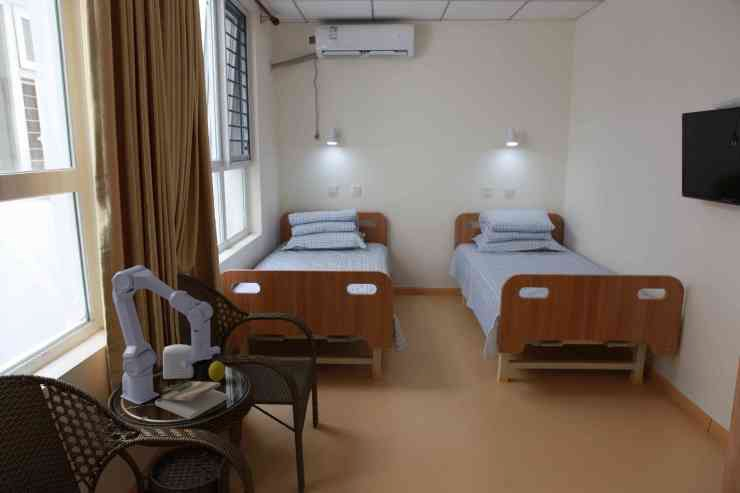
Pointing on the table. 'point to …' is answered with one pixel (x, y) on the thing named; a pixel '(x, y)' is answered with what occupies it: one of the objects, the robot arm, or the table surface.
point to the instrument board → (190, 390)
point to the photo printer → (176, 362)
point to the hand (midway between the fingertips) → (201, 380)
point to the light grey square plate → (192, 404)
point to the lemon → (216, 371)
